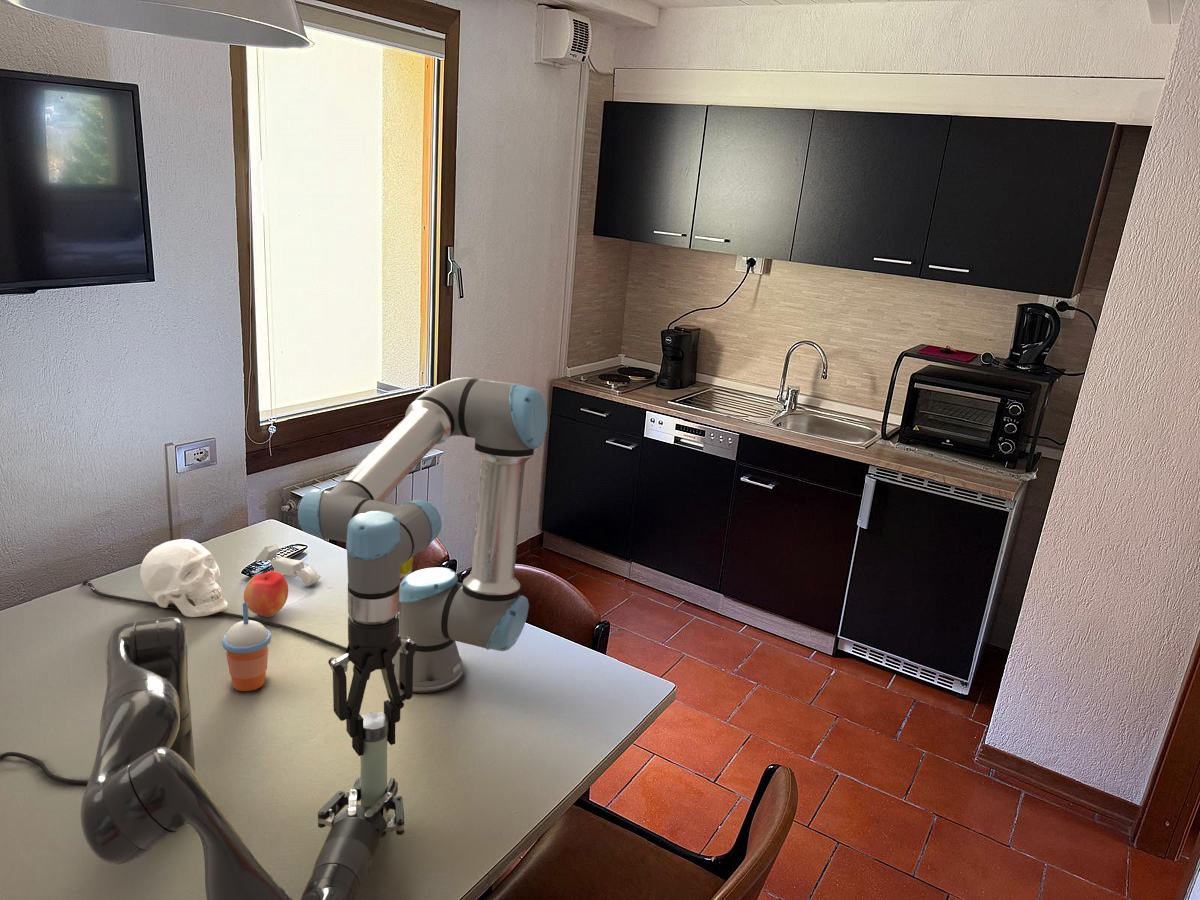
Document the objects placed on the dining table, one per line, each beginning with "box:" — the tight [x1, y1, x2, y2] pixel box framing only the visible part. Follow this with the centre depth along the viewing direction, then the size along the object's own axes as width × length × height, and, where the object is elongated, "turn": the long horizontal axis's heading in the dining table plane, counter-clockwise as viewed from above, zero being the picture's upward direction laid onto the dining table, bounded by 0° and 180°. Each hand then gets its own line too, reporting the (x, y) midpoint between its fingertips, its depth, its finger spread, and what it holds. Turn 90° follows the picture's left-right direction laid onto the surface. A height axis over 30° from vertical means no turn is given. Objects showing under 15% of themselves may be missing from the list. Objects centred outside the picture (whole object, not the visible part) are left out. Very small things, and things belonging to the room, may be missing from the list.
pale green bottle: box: [360, 735, 388, 823], centre depth 137 cm, size 4×4×19 cm
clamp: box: [254, 544, 322, 587], centre depth 219 cm, size 20×4×7 cm, turn 62°
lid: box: [361, 711, 389, 741], centre depth 134 cm, size 5×5×2 cm
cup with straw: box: [221, 602, 272, 692], centre depth 171 cm, size 9×9×18 cm
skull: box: [139, 538, 229, 618], centre depth 200 cm, size 13×22×16 cm, turn 73°
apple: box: [243, 570, 289, 618], centre depth 199 cm, size 10×10×10 cm
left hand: (378, 781), depth 141 cm, fingers closed on pale green bottle, 4 cm apart
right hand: (373, 745), depth 135 cm, fingers closed on lid, 5 cm apart
